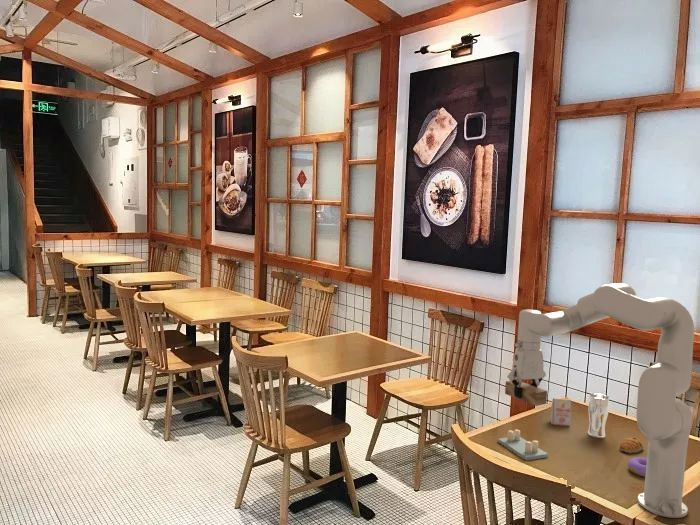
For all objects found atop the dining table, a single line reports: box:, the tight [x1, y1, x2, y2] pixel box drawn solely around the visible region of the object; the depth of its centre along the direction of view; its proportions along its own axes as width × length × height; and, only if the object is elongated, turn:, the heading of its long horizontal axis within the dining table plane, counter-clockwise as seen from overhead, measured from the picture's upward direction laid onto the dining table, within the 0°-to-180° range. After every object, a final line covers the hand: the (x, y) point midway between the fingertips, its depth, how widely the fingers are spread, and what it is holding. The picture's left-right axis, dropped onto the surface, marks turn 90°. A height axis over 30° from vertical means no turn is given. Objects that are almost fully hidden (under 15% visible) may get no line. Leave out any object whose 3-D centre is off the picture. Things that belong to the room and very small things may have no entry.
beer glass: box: [587, 392, 610, 439], centre depth 214 cm, size 7×7×15 cm
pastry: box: [619, 436, 645, 454], centre depth 202 cm, size 9×7×4 cm
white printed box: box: [550, 398, 572, 427], centre depth 225 cm, size 4×7×10 cm, turn 80°
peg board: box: [497, 429, 549, 461], centre depth 199 cm, size 16×9×5 cm, turn 20°
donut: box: [627, 456, 647, 478], centre depth 185 cm, size 10×9×5 cm
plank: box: [504, 380, 548, 407], centre depth 198 cm, size 14×5×4 cm, turn 31°
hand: (525, 396), depth 198 cm, fingers closed on plank, 5 cm apart
